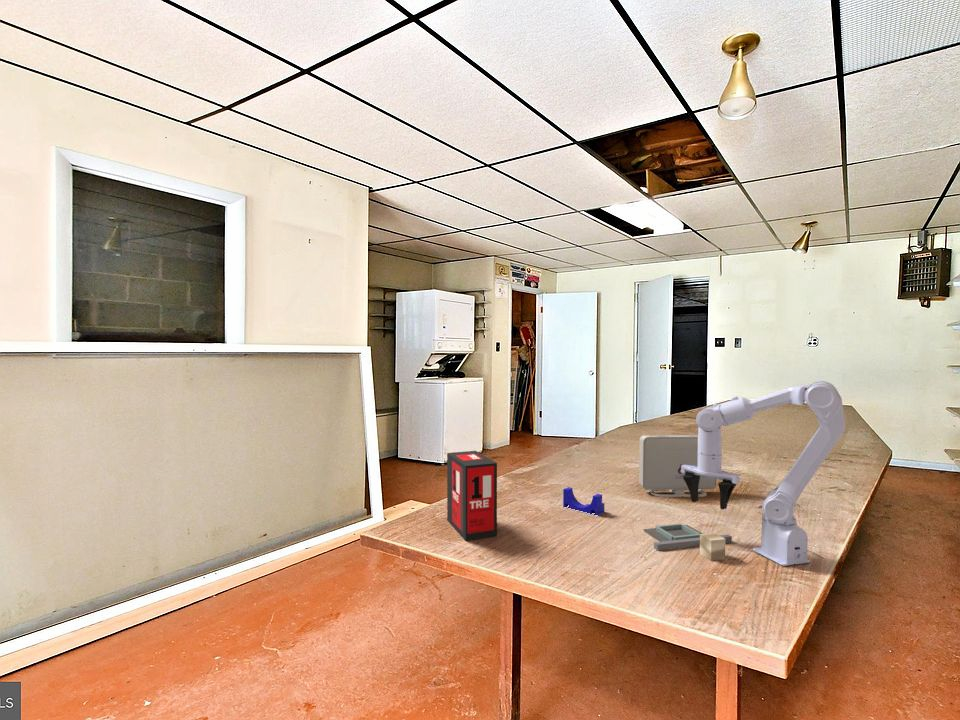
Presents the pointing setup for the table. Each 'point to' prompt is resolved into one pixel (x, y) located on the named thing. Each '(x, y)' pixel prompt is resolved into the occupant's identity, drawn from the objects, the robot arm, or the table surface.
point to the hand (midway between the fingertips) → (708, 504)
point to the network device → (669, 464)
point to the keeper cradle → (673, 532)
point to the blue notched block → (591, 508)
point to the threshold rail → (684, 543)
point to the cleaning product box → (472, 495)
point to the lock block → (712, 546)
